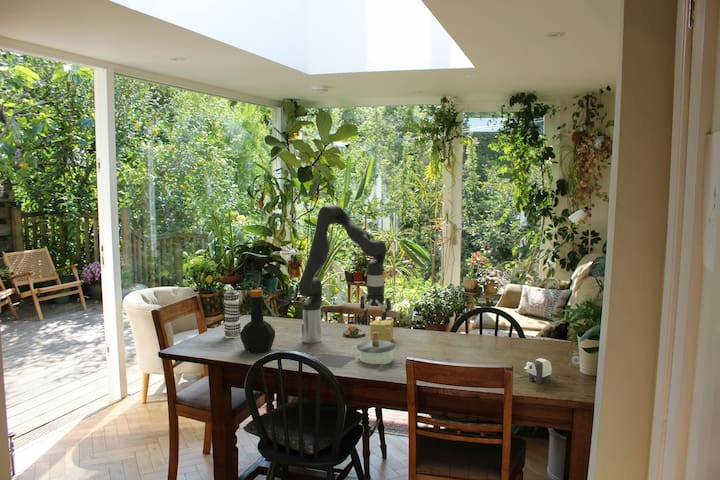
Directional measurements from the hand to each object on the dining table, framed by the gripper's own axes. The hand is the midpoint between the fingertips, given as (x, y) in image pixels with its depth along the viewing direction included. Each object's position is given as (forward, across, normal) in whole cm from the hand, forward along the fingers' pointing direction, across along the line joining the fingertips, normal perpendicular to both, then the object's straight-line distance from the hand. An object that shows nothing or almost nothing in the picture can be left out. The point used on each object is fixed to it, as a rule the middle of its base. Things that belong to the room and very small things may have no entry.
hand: (375, 318), depth 262 cm
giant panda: (+19, +72, -4) cm, 75 cm away
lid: (+14, 0, 0) cm, 14 cm away
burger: (+20, -26, +36) cm, 49 cm away
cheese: (+20, -8, +30) cm, 37 cm away
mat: (+20, -18, -9) cm, 28 cm away
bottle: (+20, -61, -4) cm, 64 cm away
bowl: (+20, 0, 0) cm, 20 cm away
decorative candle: (+21, -87, +12) cm, 90 cm away
